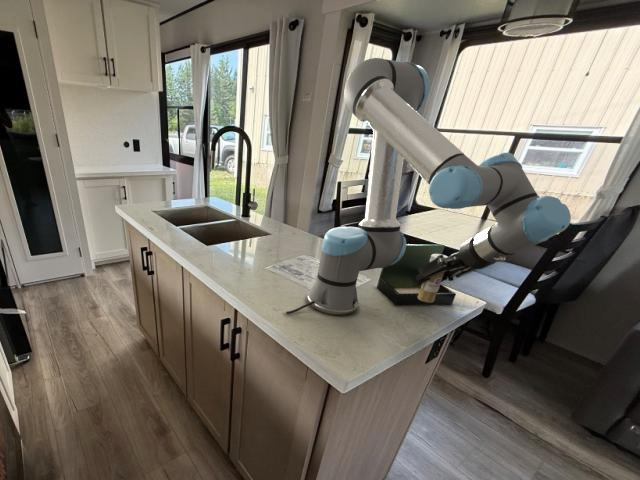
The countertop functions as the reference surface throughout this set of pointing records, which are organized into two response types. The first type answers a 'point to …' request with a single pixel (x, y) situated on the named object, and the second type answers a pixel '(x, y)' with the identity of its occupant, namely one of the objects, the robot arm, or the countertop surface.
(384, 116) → the robot arm
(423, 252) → the box
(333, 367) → the countertop surface
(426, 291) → the sprinkles bottle
